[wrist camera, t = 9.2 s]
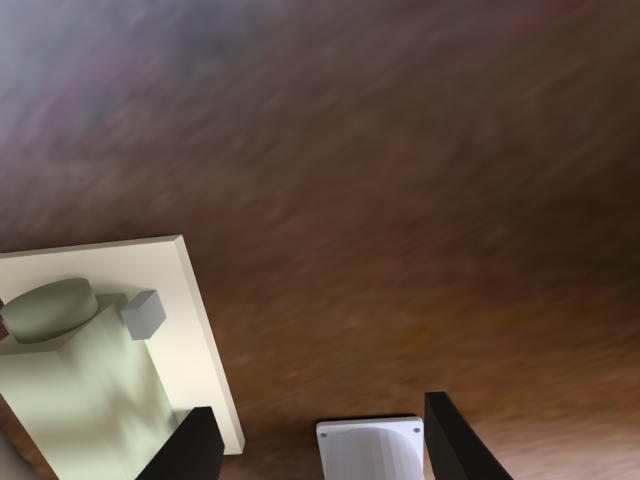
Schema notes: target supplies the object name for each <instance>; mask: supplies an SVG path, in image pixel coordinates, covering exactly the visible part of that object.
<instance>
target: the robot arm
mask: <svg viewBox="0 0 640 480" xmlns="http://www.w3.org/2000/svg"><path fill="white" fill-rule="evenodd" d="M316 432H317V437H318V443H319V449H320V454H321V460H322V466H323V471H324V477H325V480H425V479H424V476H423V422H422V419H421V418H419V417H399V418H382V419H365V420H347V421H330V422H320V423H318V424H317V427H316ZM424 437H425V441H426V445H427V449H428V453H429V457H430V461H431V465H432V469H433V473H434V476H435V479H436V480H513V478H512V477H511V476H510V475H509V474H508V473H507V471H506V470H505V469H504V468H503V467H502V465H501V464H500V463H499V462H498V461H497V459H496V458H495V457H494V456H493V454H492V453H491V452H490V451H489V450H488V448H487V447H486V446H485V445H484V443H483V442H482V441H481V440H480V438H479V437H478V436H477V435H476V433H475V432H474V431H473V429H472V428H471V427H470V425H469V424H468V423H467V421H466V420H465V419H464V417H463V416H462V415H461V413H460V412H459V410H458V409H457V408H456V406H455V405H454V403H453V402H452V400H451V399H450V397H449V396H448V394H447V393H445V392H428V393H425V420H424ZM224 450H225V444H224V442H223V439H222V436H221V433H220V430H219V427H218V424H217V421H216V418H215V416H214V413H213V410H212V407H211V406H205V407H194V408H193V409H192V410H191V411H190V413H189V414H188V415H187V416H186V418H185V419H184V420H183V421H182V423H181V424H180V425H179V426H178V427H177V429H176V430H175V431H174V432H173V434H172V435H171V436H170V437H169V439H168V440H167V441H166V442H165V444H164V445H163V446H162V447H161V449H160V450H159V451H158V452H157V453H156V455H155V456H154V457H153V458H152V459H151V461H150V462H149V463H148V464H147V465H146V467H145V468H144V469H143V470H142V471H141V473H140V474H139V475H138V476H137V477H136V479H135V480H218V478H219V474H220V469H221V465H222V460H223V455H224Z"/></svg>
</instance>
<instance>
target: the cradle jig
mask: <svg viewBox="0 0 640 480" xmlns="http://www.w3.org/2000/svg"><path fill="white" fill-rule="evenodd" d="M71 278H84V279H87V280H88V282H89V284H90V286H91V288H92V291H93V293H94V295H103V294H114V293H125V295H126V297H127V300H128V302H129V303H128V304H127V305H126V306H125V307H124V308H123V309H122V310H121V311H120V312H121V314H122V317H123V319H124V321H125V324H126V326H127V328H128V331H129V333H130V335H131V338H132V340H144V341H145V344H146V346H147V348H148V351H149V353H150V356H151V358H152V361H153V363H154V365H155V368H156V370H157V373H158V375H159V378H160V380H161V382H162V385H163V387H164V390H165V392H166V395H167V397H168V399H169V402H170V404H171V407H172V409H173V412H174V414H175V416H176V419H177V421H178V424H179V425H180V424H181V423H182V421H183V420H184V419H185V418H186V416H187V415H188V414H189V413H190V411H191V410H192V409H193V408H194V407H205V406H211V407H212V410H213V413H214V416H215V418H216V421H217V424H218V427H219V430H220V433H221V436H222V439H223V442H224V444H225V450H224V455H228V454H242V452H243V448H244V444H245V439H244V436H243V432H242V429H241V426H240V422H239V419H238V416H237V413H236V409H235V406H234V403H233V400H232V396H231V393H230V390H229V387H228V383H227V380H226V377H225V374H224V370H223V367H222V364H221V361H220V357H219V354H218V351H217V347H216V344H215V341H214V338H213V334H212V331H211V328H210V325H209V321H208V318H207V315H206V312H205V308H204V305H203V302H202V299H201V295H200V292H199V289H198V286H197V282H196V279H195V276H194V272H193V269H192V266H191V263H190V259H189V256H188V253H187V250H186V246H185V243H184V240H183V237H182V235H172V236H163V237H153V238H144V239H134V240H124V241H115V242H105V243H96V244H86V245H76V246H67V247H57V248H48V249H38V250H29V251H19V252H9V253H0V298H1V300H2V302H3V303H4V305H5V304H7V303H8V302H10V301H11V300H13V299H14V298H16V297H18V296H20V295H22V294H24V293H26V292H28V291H30V290H33V289H35V288H38V287H40V286H43V285H46V284H49V283H53V282H56V281H60V280H65V279H71ZM2 323H3V324H4V326H5V327H6V329H7V331H8V332H9V334H11V331H10V329H9V328H8V326H7V324H6V323H5V321H4V320H3V321H2Z"/></svg>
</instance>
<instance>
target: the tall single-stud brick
mask: <svg viewBox="0 0 640 480" xmlns="http://www.w3.org/2000/svg"><path fill="white" fill-rule="evenodd" d="M128 303H129V302H128V300H127V297H126V295H125V293H114V294H103V295H94V293H93V291H92V288H91V286H90V284H89V282H88V280H87V279H84V278H71V279H65V280H60V281H56V282H53V283H49V284H46V285H43V286H40V287H38V288H35V289H33V290H30V291H28V292H26V293H24V294H22V295H20V296H18V297H16V298H14V299H13V300H11V301H10V302H8V303H7V304H5V305H4V306H3V307H2V308H1V310H0V314H1V316H2V318H3V319H4V321H5V323H6V324H7V326H8V328H9V329H10V331H11V334H10V335H9V336H7V337H6V338H4V339H3V340H1V341H0V393H1V394H2V396H3V397H4V399H5V400H6V402H7V403H8V404H9V406H10V407H11V409H12V410H13V412H14V413H15V415H16V416H17V418H18V419H19V421H20V422H21V424H22V425H23V426H24V428H25V429H26V431H27V432H28V434H29V435H30V437H31V438H32V440H33V441H34V443H35V444H36V445H37V447H38V448H39V450H40V451H41V453H42V454H43V456H44V457H45V459H46V460H47V462H48V463H49V465H50V466H51V467H52V469H53V470H54V472H55V473H56V475H57V476H58V478H59V479H60V480H135V479H136V477H137V476H138V475H139V474H140V473H141V471H142V470H143V469H144V468H145V467H146V465H147V464H148V463H149V462H150V461H151V459H152V458H153V457H154V456H155V455H156V453H157V452H158V451H159V450H160V449H161V447H162V446H163V445H164V444H165V442H166V441H167V440H168V439H169V437H170V436H171V435H172V434H173V432H174V431H175V430H176V429H177V427H178V426H179V424H178V421H177V419H176V416H175V414H174V412H173V409H172V407H171V404H170V402H169V399H168V397H167V395H166V392H165V390H164V387H163V385H162V382H161V380H160V378H159V375H158V373H157V370H156V368H155V365H154V363H153V361H152V358H151V356H150V353H149V351H148V348H147V346H146V344H145V341H144V340H132V338H131V335H130V333H129V331H128V328H127V326H126V324H125V321H124V319H123V317H122V314H121V312H120V311H121V310H122V309H123V308H124V307H125V306H126V305H127V304H128Z"/></svg>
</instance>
